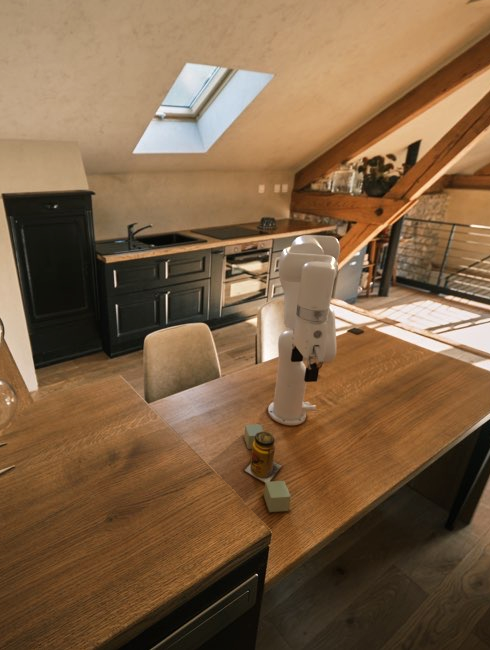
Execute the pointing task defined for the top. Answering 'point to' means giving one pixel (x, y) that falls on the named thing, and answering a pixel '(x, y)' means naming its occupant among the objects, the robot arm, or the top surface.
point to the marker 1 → (251, 434)
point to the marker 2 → (276, 496)
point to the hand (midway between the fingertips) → (303, 370)
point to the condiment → (263, 457)
